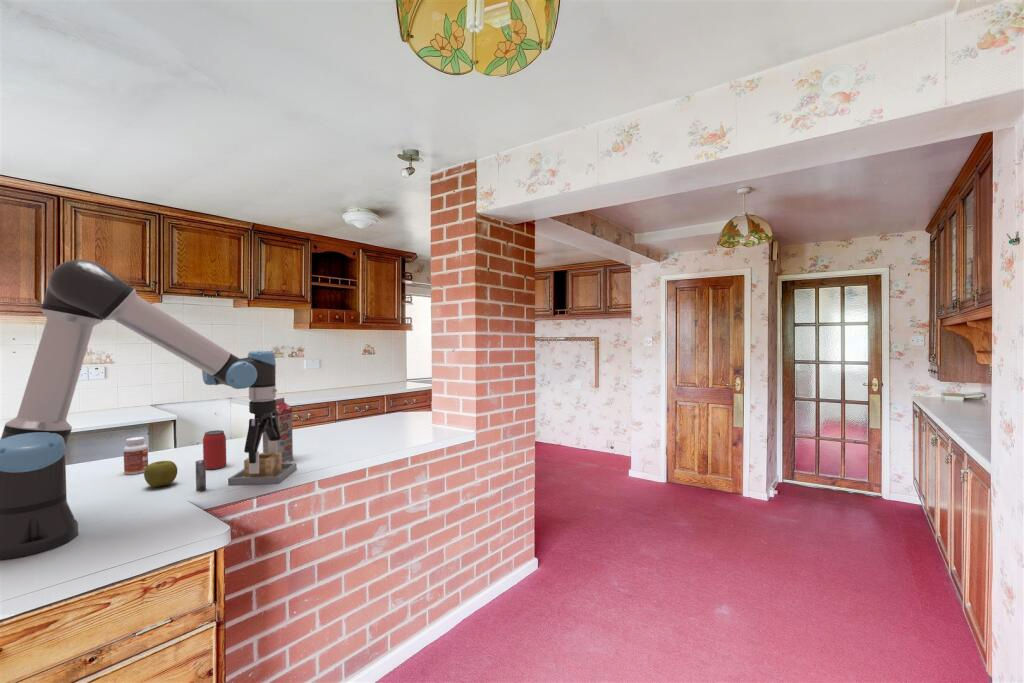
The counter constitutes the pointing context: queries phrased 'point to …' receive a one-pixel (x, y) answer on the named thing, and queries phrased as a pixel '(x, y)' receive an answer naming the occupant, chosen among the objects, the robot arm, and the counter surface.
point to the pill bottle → (135, 456)
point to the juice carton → (282, 431)
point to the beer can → (214, 449)
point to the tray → (241, 480)
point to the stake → (200, 475)
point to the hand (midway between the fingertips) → (264, 466)
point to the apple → (160, 473)
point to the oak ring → (266, 465)
